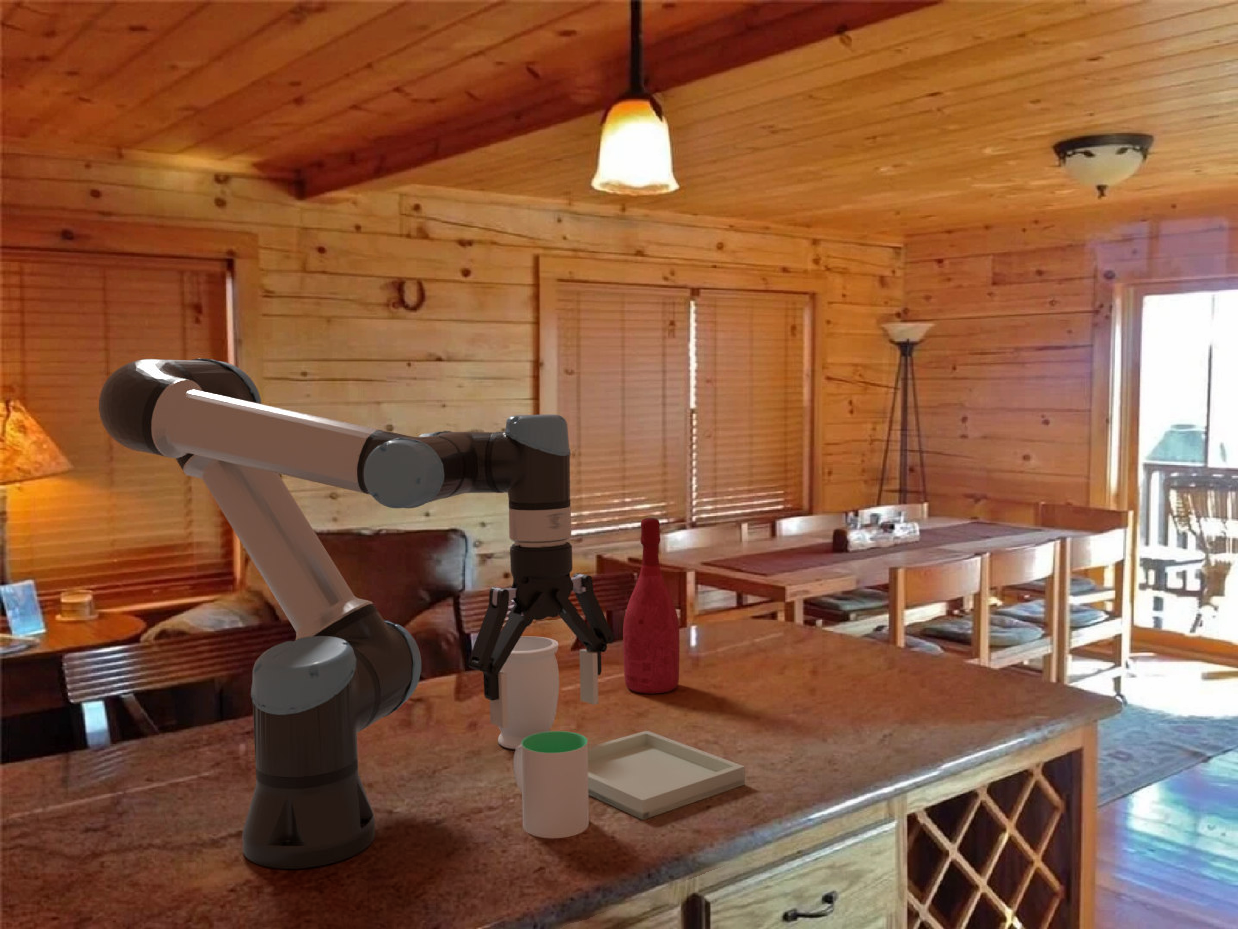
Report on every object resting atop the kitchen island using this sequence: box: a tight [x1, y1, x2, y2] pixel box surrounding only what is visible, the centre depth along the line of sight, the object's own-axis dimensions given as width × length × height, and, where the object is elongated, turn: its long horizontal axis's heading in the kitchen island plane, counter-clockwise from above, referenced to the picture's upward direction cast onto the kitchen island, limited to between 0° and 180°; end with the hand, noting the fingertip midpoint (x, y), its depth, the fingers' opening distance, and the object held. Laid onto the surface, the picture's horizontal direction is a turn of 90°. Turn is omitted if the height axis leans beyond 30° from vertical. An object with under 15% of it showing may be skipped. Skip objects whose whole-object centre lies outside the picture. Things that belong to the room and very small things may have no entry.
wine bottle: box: [622, 517, 681, 695], centre depth 194 cm, size 10×10×30 cm
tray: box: [588, 730, 746, 821], centre depth 151 cm, size 18×20×2 cm
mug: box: [512, 730, 590, 839], centre depth 138 cm, size 12×8×10 cm, turn 44°
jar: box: [497, 635, 560, 750], centre depth 167 cm, size 11×10×15 cm
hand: (545, 713), depth 137 cm, fingers open, 13 cm apart
